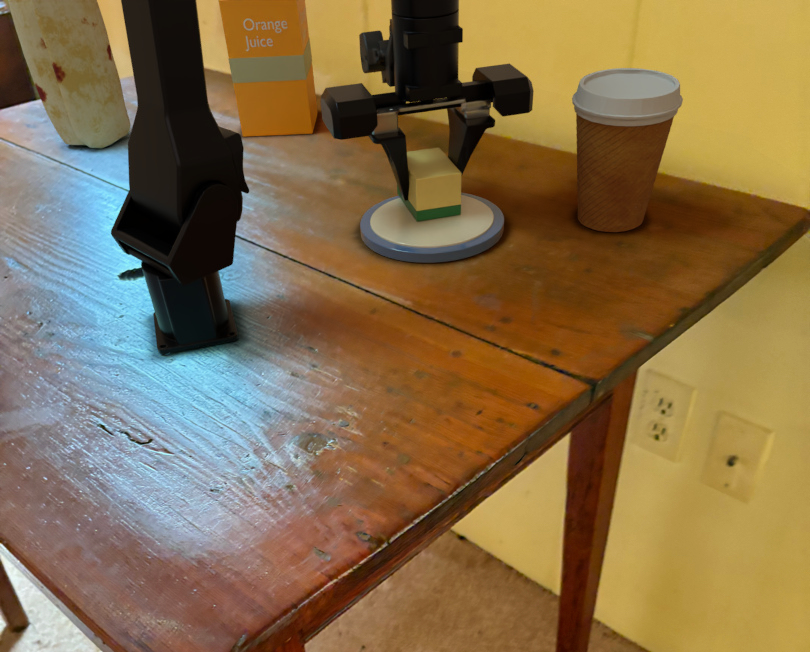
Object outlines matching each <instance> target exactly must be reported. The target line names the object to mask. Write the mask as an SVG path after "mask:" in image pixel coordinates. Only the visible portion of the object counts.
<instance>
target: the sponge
mask: <svg viewBox="0 0 810 652" xmlns="http://www.w3.org/2000/svg"><path fill="white" fill-rule="evenodd" d="M407 161H408V174H409V195H408V201H404V199H403V198H402V196H401V193H400V190H399V187H398V185H397V184H396V193H397V196H399V197H400V198H401V200H402V201H403V202H404V204H405V205H406V207H407V208H408V210H409V211H410V212H411V214H412V215H413V217H414V218H415V220H416V221H424V220H430V219H437V218H443V217H450V216H456V215H461V193H462V179H463V178H462V177H463V175H462V173H461V172H460V171H459V169H458V168H457V167H456V166H455V165H454V164H453V163H452V162H451V160H450V159H449V158H448V155H447V154H446V153H445V152H444V151H443V150H442V149H441V148H440V147H439V146H438V147H432V148H424V149H418V150H417V149H416V150H411V151H407Z"/></svg>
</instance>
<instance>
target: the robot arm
mask: <svg viewBox="0 0 810 652" xmlns="http://www.w3.org/2000/svg"><path fill="white" fill-rule="evenodd" d="M120 3H121V9H122V14H123V20H124V27H125V32H126V38H127V45H128V50H129V57H130V62H131V69H132V75H133V80H134V87H135V92H136V99H137V102H136V103H137V109H136V112H135V116H134V120H133V123H132V127H131V129H130V134H129V138H128V142H127V158H128V159H127V161H128V162H127V163H128V165H127V166H128V189H129V190H128V192H127V194H126V197H125V198H124V200H123V203H122V206H121V208H120V209H119V212H118V215H117V217H116V219H115V221H114V223H113V225H112V227H111V229H110V235H111V237H112V238H113V240H114V241H115V242H116V243H117V245H118V246H119V247H120V249H121V250H122V251H123V253H124V254H126V255H128V256H132V257H134V258H136V259H138V260H140V261H141V262H140V265H141V266H140V267H141V270H142V274H143V276H144V280H145V283H146V287H147V290H148V293H149V296H150V297H149V298H150V300H151V304H152V307H153V310H154V312H153V314H152V315H153V323H154V332H155V333H154V334H155V342H156V349H157V352H158V354H160V355H167V354H172V353H177V352H183V351H188V350H193V349H198V348H204V347H210V346H216V345H220V344H226V343H231V342H235V341H237V340H239V338H240V336H239V332H238V328H237V324H236V321H235V317H234V313H233V312H234V311H233V309H232V304H231V301H230V299H227V298H225V294H224V290H223V285H222V280H221V276H220V272H219V271H222V270H224V269H226V268H229V267H231V266H232V265H233V264H234V255H235V247H236V234H237V226H238V225H237V224H238V222H240V221H241V218H242V215H243V209H244V207H243V204H244V201H243V200H244V197H243V193H244V194H249V193H250V188H249V186H248V183H247V181H246V178H245V173H244V151H245V150H244V143H243V139H242V138H243V137H242V135H241V134H240V133H239V132H236V131H233V130H231V129H227V128H225V127H223V126H219V124H218V122H217V120H216V118H215V116H214V114H213V113H212V112H213V111H212V110H211V108H210V107H211V106H210V103H209V98H208V90H207V89H208V88H207V81H206V73H205V64H204V55H203V54H204V53H203V46H202V37H201V29H200V21H199V20H200V19H199V12H198V3H197V0H120ZM390 3H391V4H390V7H391V18H389V26H388V30H389V31H388V32H389V37H388V39H384V36H383V32H382V30H371V31H364V32H363V31H362V32H361V33H359V35H358V38H359V56H360V57H359V58H360V64H361V69H362V72H363V73H364V74H371V73H379V72H381V80H382V84H387V86H388V87H389V88H392V87H394V91H392V92H391V91H390V92H385V93H383V92H382V93H376V94H371V92H370V91H369V90H368V89H367V87H366V86H365V85H364V83H362V82H359V83H353V84H345V85H338V86H329V87H325V89H324V90H323V91H322V93H321V95H320V110H321V111H320V112H321V119H322V122H323V123H324V125H325V127H326V128H327V130H328V131H329V133H330V134H331V136H332V137H333V139H335V140H341V141H343V140H349V139H356V138H357V139H358V138H364V137H368V139H370V141H371V142H372V144H375V145H381V147H382V149H383V151H384V153H385V155H386V158H387V160H388V162H389V163H388V164H389V165H390V168H391V171H392V173H393V174H392V175H393V176H394V179H395V182H396V186H397V185H398V187H399V190H400V193H401V196H402V198H403V199H404V201H408V195H409V174H408V161H407V152H408V149H407V136H406V134H405V132H404V131H403V130H402V129H401V127H400V126H399V116H406V115H414V114H420V113H426V112H435V111H441V110H446V112H447V120H448V127H449V129H448V130H449V131H448V133H449V134H448V150H447V157H448V158H449V159H450V160H451V162H452V163H453V164H454V165H455V166H456V167H457V168H458V169H459V171H460V172H461V173H462V176H463V174H464V173H465V170H466V168H467V165H468V164H469V161H470V159H471V158H472V155H473V153H474V151H475V149H476V147H478V144H479V143H480V140H481V139H482V137H483V136H484V134H485V132H486V130H488V129H492V128H494V127H495V126H496V119H495V118H494V117H493V116H492V115H491V108H492V107H493V109H494V110H495V111H496V112H497V113H498V114H499V115H500V116H501V117H511V116H516V115H523V114H529V113H531V112H532V111H533V104H534V87H533V83H532V80H531V79H530V78H529V77H528V75H526V74H525V73H523V72H522V71H520V70H519V69H518V68H516V67H515V66H514V65H513V64H511V63H503V64H495V65H487V66H481V67H475V68H474V71H473V73H472V77H471V81H464V82H462V81H461V80H460V79H459V57H460V56H459V53H460V52H459V47H460V46H459V44H461V43H463V42H464V39H463V38H464V29H463V27H462V26H460V8H459V7H460V0H390Z"/></svg>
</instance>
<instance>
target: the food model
mask: <svg viewBox="0 0 810 652" xmlns="http://www.w3.org/2000/svg"><path fill="white" fill-rule="evenodd" d="M7 4H8V6H9V10H10V15H11V19H12V22H13V25H14V28H15V31H16V34H17V37H18V40H19V44H20V46H21V50H22V53H23V56H24V59H25V62H26V64H27V67H28V70H29V73H30V75H31V79H32V81H33V84H34V86H35V88H36V91H37V94H38V96H39V98H40V101H41V103H42V106H43V108H44V110H45V112H46V114H47V116H48V118H49V121H50V122H51V124H52V126H53V128H54V129H55V131H56V133H57V134H58V135H59V137H60V139H61V141H62V142H63V143H64V144H65V145H69V146H87V147H88V148H90V149H104V148H106V147H108V146H111V145H113V144H114V143H115V142H117V141H119V140H121V139H122V138H124V137H125V136H127V135H129V132H131V121H130V117H129V114H128V111H127V106H126V102H125V97H124V93H123V87H122V83H121V79H120V75H119V71H118V68H117V64H116V61H115V59H114V55H113V50H112V46H111V42H110V39H109V34H108V30H107V27H106V24H105V21H104V18H103V14H102V11H101V9H100V5H99V3H98V0H7Z"/></svg>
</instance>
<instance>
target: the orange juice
mask: <svg viewBox="0 0 810 652" xmlns="http://www.w3.org/2000/svg"><path fill="white" fill-rule="evenodd" d="M218 5H219V6H218V7H219V11H220V17H221V22H222V27H223V28H222V29H223V34H224V39H225V45H226V50H227V56H228V57H227V58H228V64H229V71H230V75H231V82H232V84H233V90H234V96H235V101H236V107H237V112H238V117H239V124H240V129H241V134H242V135H241V136H242V138H243V137H264V136H265V137H266V136H286V135H307V134H308V135H310V134H311V135H312V134H313V133H314V129H315V126H316V122H317V118H318V114H319V113H318V104H317V95H316V86H315V77H314V68H313V56H312V47H311V39H310V33H309V25H308V15H307V7H306V0H218Z"/></svg>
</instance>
